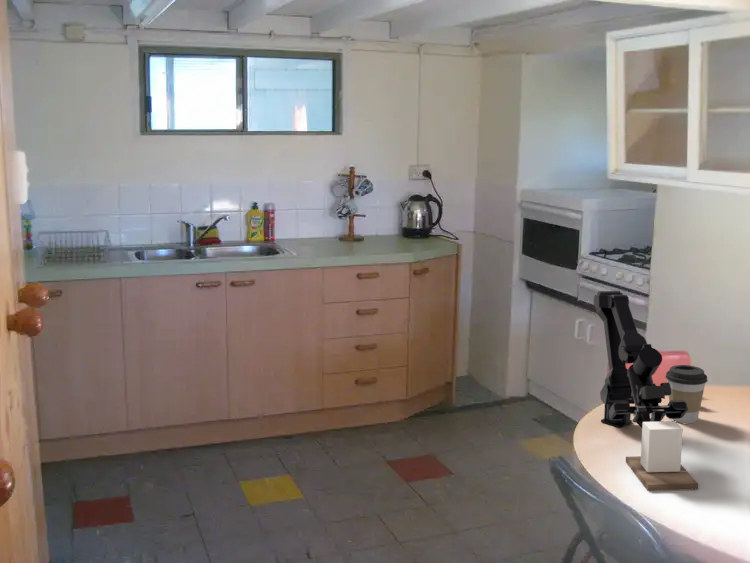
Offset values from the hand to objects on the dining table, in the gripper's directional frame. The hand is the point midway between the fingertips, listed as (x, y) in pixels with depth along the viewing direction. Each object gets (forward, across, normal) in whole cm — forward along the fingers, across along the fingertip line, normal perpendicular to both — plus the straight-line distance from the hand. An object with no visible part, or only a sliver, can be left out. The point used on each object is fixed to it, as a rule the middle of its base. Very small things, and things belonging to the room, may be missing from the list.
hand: (655, 441), depth 202 cm
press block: (+6, 0, +1) cm, 7 cm away
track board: (+8, 0, +2) cm, 8 cm away
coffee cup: (-17, +20, +27) cm, 38 cm away
